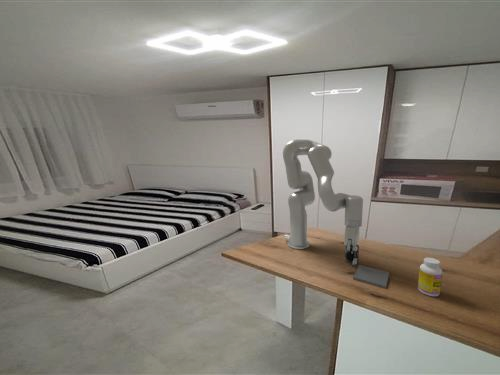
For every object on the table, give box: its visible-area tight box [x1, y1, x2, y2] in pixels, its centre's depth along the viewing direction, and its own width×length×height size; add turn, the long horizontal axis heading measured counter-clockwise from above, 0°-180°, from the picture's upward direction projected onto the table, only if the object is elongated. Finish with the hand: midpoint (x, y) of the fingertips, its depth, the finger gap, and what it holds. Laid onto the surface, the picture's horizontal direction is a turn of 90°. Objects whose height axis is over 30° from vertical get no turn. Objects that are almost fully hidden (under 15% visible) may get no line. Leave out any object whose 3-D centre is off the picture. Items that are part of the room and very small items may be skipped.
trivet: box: [353, 264, 390, 289], centre depth 98 cm, size 12×12×1 cm
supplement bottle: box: [417, 257, 443, 297], centre depth 86 cm, size 7×7×13 cm
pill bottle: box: [344, 244, 360, 266], centre depth 110 cm, size 6×6×11 cm
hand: (351, 256), depth 111 cm, fingers open, 6 cm apart
